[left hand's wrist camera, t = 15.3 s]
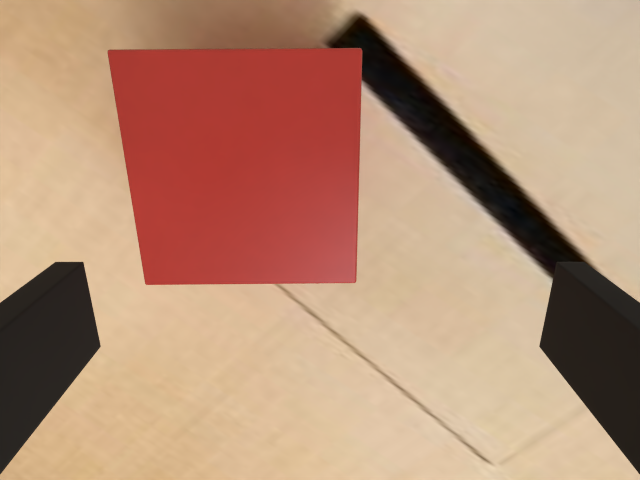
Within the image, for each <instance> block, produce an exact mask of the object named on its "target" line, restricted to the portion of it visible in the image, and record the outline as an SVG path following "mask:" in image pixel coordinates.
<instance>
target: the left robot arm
mask: <svg viewBox="0 0 640 480" xmlns="http://www.w3.org/2000/svg"><path fill="white" fill-rule="evenodd" d="M100 347H101V346H100V341H99V336H98V332H97V327H96V322H95V317H94V312H93V307H92V302H91V297H90V292H89V288H88V283H87V278H86V273H85V268H84V263H83V262H55V263H54V264H52V265H51V266H50V267H48V268H47V269H46V270H44V271H43V272H41V273H40V274H39V275H37V276H36V277H35V278H33V279H32V280H31V281H29V282H28V283H27V284H25V285H24V286H22V287H21V288H20V289H18V290H17V291H16V292H14V293H13V294H12V295H10V296H9V297H8V298H6V299H5V300H3V301H2V302H1V303H0V474H1V473H2V471H3V470H4V469H5V468H6V466H7V465H8V464H9V462H10V461H11V460H12V459H13V457H14V456H15V455H16V454H17V452H18V451H19V450H20V448H21V447H22V446H23V445H24V443H25V442H26V441H27V440H28V438H29V437H30V436H31V434H32V433H33V432H34V431H35V429H36V428H37V427H38V426H39V424H40V423H41V422H42V420H43V419H44V418H45V417H46V415H47V414H48V413H49V412H50V410H51V409H52V408H53V406H54V405H55V404H56V403H57V401H58V400H59V399H60V398H61V396H62V395H63V394H64V392H65V391H66V390H67V389H68V387H69V386H70V385H71V384H72V382H73V381H74V380H75V378H76V377H77V376H78V375H79V373H80V372H81V371H82V370H83V368H84V367H85V366H86V364H87V363H88V362H89V361H90V359H91V358H92V357H93V356H94V354H95V353H96V352H97V350H98V349H99V348H100ZM539 347H540V348H541V349H542V350H543V352H544V353H545V354H546V356H547V357H548V358H549V359H550V361H551V362H552V363H553V364H554V366H555V367H556V368H557V370H558V371H559V372H560V373H561V375H562V376H563V377H564V378H565V380H566V381H567V382H568V384H569V385H570V386H571V387H572V389H573V390H574V391H575V392H576V394H577V395H578V396H579V398H580V399H581V400H582V401H583V403H584V404H585V405H586V406H587V408H588V409H589V410H590V412H591V413H592V414H593V415H594V417H595V418H596V419H597V420H598V422H599V423H600V424H601V426H602V427H603V428H604V429H605V431H606V432H607V433H608V434H609V436H610V437H611V438H612V440H613V441H614V442H615V443H616V445H617V446H618V447H619V448H620V450H621V451H622V452H623V454H624V455H625V456H626V457H627V459H628V460H629V461H630V462H631V464H632V465H633V466H634V468H635V469H636V470H637V471H638V473H639V474H640V303H639V302H638V301H637V300H635V299H634V298H632V297H631V296H630V295H628V294H627V293H626V292H624V291H623V290H622V289H620V288H619V287H618V286H616V285H615V284H613V283H612V282H611V281H609V280H608V279H607V278H605V277H604V276H603V275H601V274H600V273H599V272H597V271H596V270H594V269H593V268H592V267H590V266H589V265H588V264H586V263H585V262H557V263H556V268H555V273H554V278H553V283H552V288H551V292H550V297H549V302H548V307H547V312H546V317H545V322H544V327H543V332H542V336H541V341H540V346H539Z"/></svg>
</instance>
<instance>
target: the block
mask: <svg viewBox="0 0 640 480" xmlns="http://www.w3.org/2000/svg"><path fill="white" fill-rule="evenodd" d="M108 58H109V64H110V70H111V76H112V82H113V88H114V94H115V101H116V107H117V113H118V119H119V125H120V131H121V137H122V144H123V150H124V156H125V162H126V168H127V174H128V180H129V187H130V193H131V199H132V205H133V211H134V217H135V223H136V230H137V236H138V242H139V248H140V254H141V260H142V266H143V273H144V279H145V284H146V285H173V284H284V283H355V282H356V271H357V232H358V193H359V154H360V116H361V77H362V49H360V48H312V49H150V50H108Z"/></svg>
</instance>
